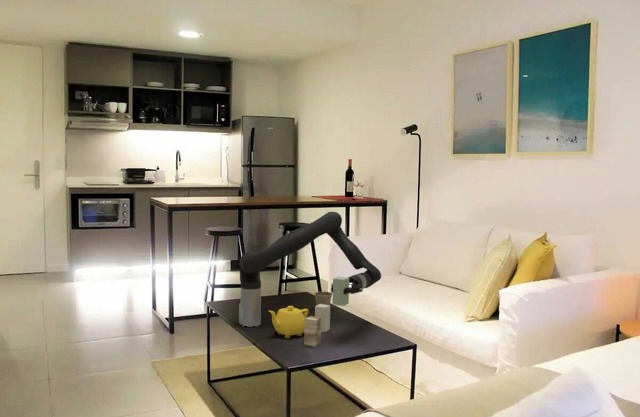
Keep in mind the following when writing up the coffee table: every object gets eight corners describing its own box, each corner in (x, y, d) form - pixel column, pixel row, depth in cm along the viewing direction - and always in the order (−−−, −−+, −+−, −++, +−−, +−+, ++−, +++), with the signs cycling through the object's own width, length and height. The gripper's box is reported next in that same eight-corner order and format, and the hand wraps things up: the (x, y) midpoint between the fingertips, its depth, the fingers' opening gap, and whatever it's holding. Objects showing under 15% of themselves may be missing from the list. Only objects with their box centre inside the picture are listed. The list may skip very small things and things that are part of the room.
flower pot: (319, 313, 278) (319, 296, 277) (310, 309, 286) (310, 292, 286) (335, 311, 282) (335, 294, 282) (326, 307, 291) (327, 290, 290)
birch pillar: (314, 346, 227) (315, 320, 227) (304, 344, 230) (304, 318, 229) (320, 343, 232) (321, 317, 231) (310, 341, 234) (310, 315, 233)
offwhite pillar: (324, 332, 248) (325, 307, 247) (314, 330, 250) (315, 306, 249) (329, 329, 252) (330, 305, 251) (319, 327, 254) (320, 303, 254)
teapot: (260, 334, 243) (261, 306, 242) (299, 327, 254) (300, 300, 253) (276, 342, 232) (276, 313, 231) (316, 335, 243) (316, 307, 242)
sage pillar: (343, 306, 231) (344, 279, 230) (332, 304, 234) (333, 278, 233) (348, 303, 236) (349, 277, 235) (337, 301, 238) (338, 276, 237)
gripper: (340, 273, 250) (323, 280, 235) (370, 277, 243) (354, 284, 228) (340, 290, 250) (322, 297, 235) (370, 294, 244) (353, 302, 229)
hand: (338, 291), depth 232 cm, fingers closed on sage pillar, 5 cm apart
